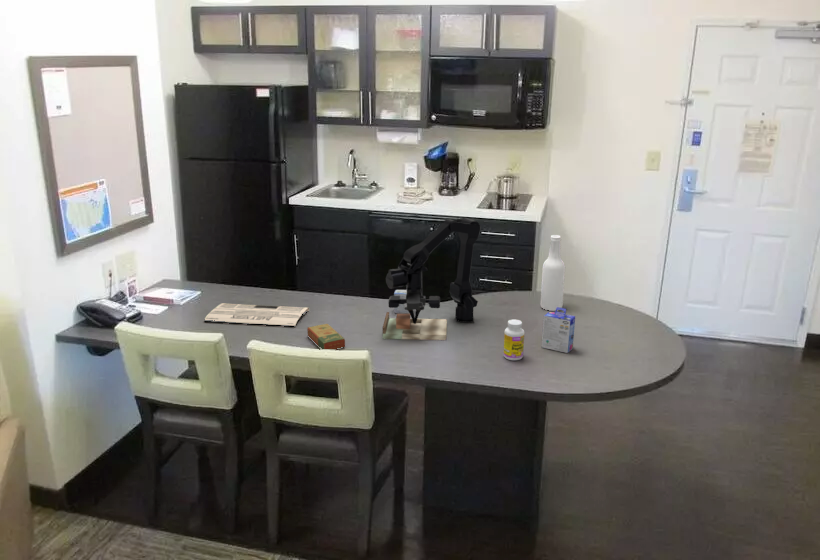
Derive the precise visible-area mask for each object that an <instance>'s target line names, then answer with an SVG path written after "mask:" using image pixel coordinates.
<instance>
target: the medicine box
mask: <svg viewBox="0 0 820 560" xmlns="http://www.w3.org/2000/svg"><path fill="white" fill-rule="evenodd" d="M406 294H407V289H395V290H394V293H393V296H400V299H406ZM404 308H405V305H404V304H399V306H398V307H397V308H393V309H394V314H410V313H409V311H408V310H405V309H404ZM414 312H416V310H415V309H414Z"/></svg>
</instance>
